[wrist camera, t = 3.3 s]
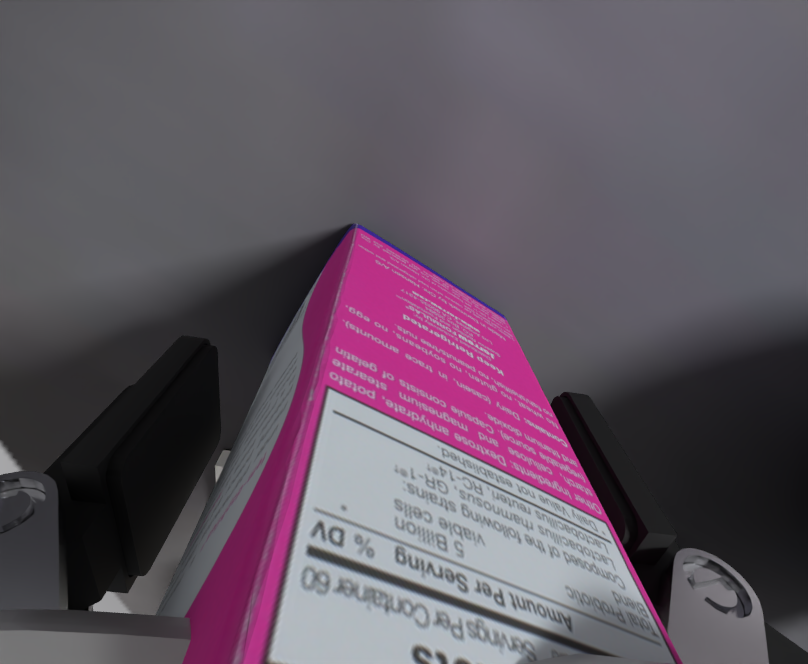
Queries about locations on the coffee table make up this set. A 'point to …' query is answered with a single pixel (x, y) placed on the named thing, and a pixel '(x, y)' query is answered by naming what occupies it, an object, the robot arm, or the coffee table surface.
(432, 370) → the supplement box
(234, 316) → the coffee table surface
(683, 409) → the coffee table surface
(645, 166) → the coffee table surface
